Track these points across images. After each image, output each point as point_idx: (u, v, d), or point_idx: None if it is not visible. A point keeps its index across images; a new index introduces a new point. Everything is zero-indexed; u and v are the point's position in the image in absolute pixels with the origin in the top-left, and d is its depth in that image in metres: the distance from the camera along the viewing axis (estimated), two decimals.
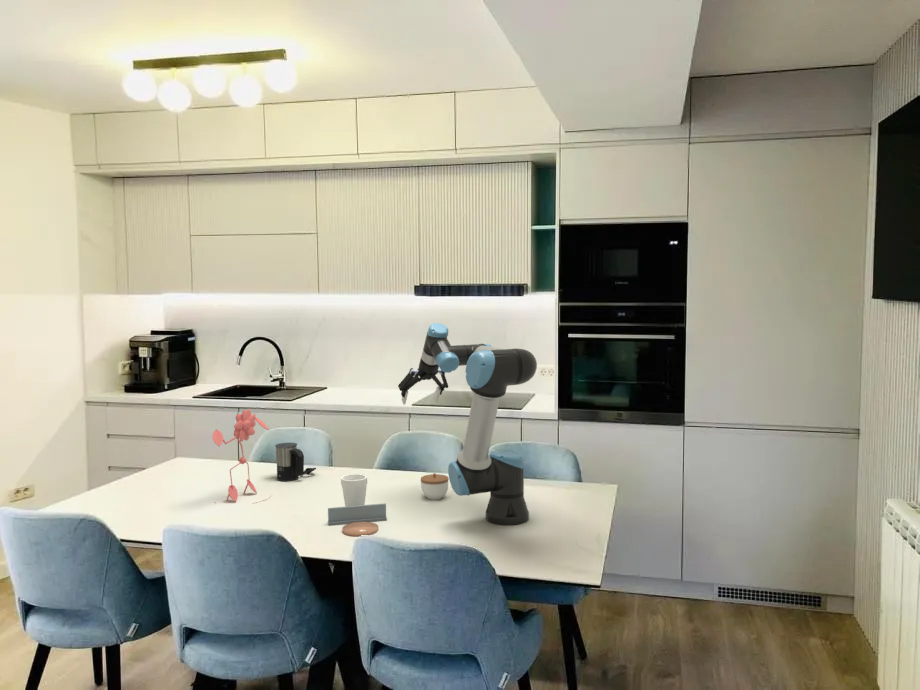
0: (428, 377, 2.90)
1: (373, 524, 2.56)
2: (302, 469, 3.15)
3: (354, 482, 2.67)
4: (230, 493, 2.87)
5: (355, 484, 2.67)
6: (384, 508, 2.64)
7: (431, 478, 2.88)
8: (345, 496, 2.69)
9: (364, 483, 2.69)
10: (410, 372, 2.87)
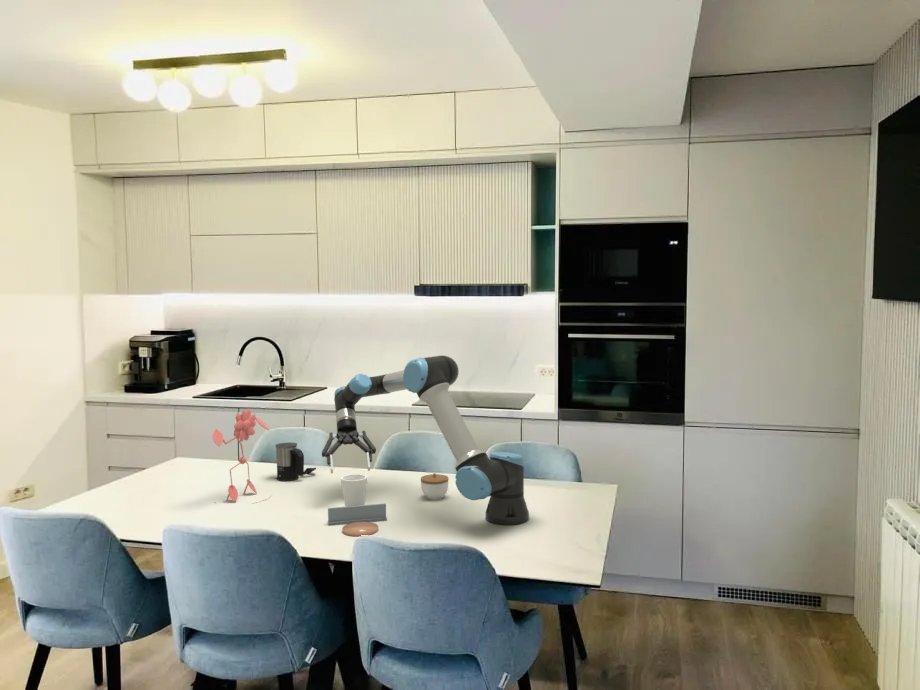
0: (349, 439, 2.87)
1: (373, 524, 2.56)
2: (302, 469, 3.16)
3: (354, 482, 2.67)
4: (230, 493, 2.87)
5: (355, 484, 2.67)
6: (384, 508, 2.64)
7: (431, 478, 2.88)
8: (345, 496, 2.69)
9: (364, 483, 2.69)
10: (329, 437, 2.88)
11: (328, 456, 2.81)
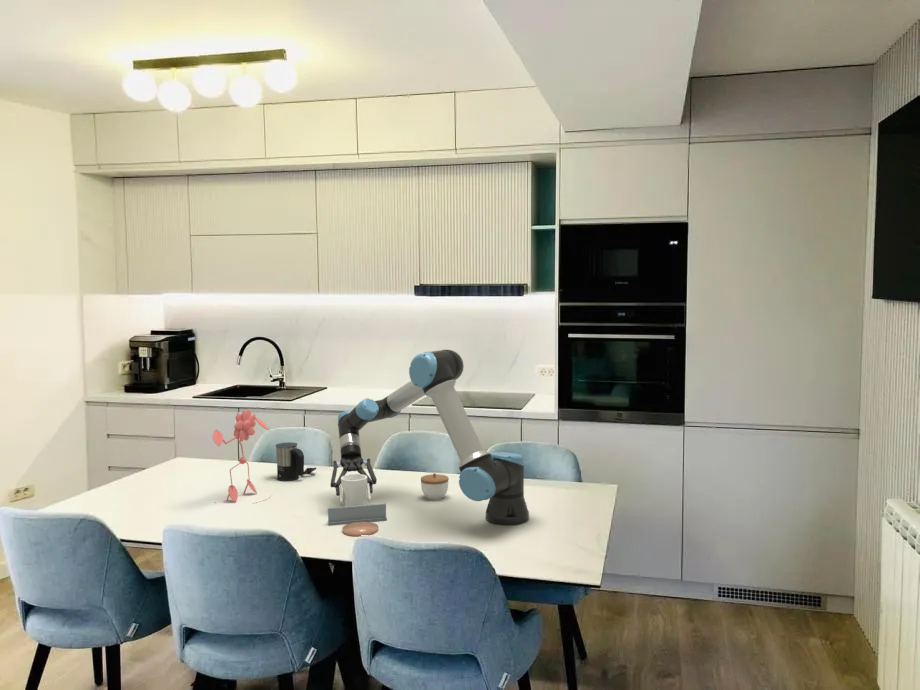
0: (353, 465, 2.77)
1: (373, 524, 2.56)
2: (302, 469, 3.16)
3: (354, 482, 2.67)
4: (230, 493, 2.87)
5: (355, 484, 2.67)
6: (384, 508, 2.64)
7: (431, 478, 2.88)
8: (345, 496, 2.69)
9: (364, 483, 2.69)
10: (333, 465, 2.77)
11: (337, 487, 2.71)
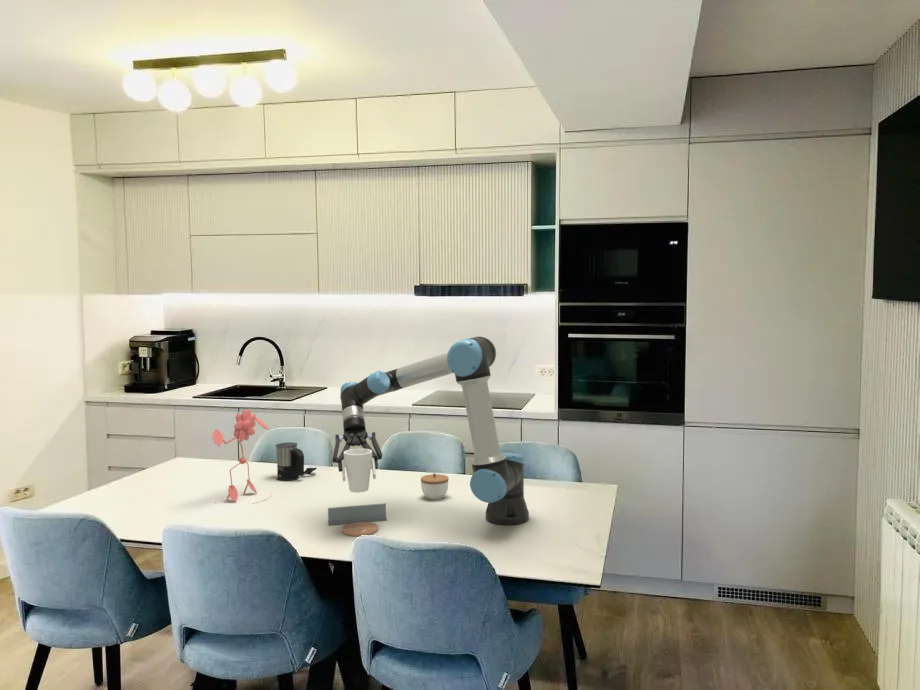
0: (357, 439, 2.57)
1: (373, 524, 2.56)
2: (302, 469, 3.16)
3: (358, 456, 2.47)
4: (230, 493, 2.87)
5: (359, 458, 2.47)
6: (384, 508, 2.64)
7: (431, 478, 2.88)
8: (348, 472, 2.49)
9: (369, 458, 2.49)
10: (335, 439, 2.57)
11: (339, 462, 2.51)
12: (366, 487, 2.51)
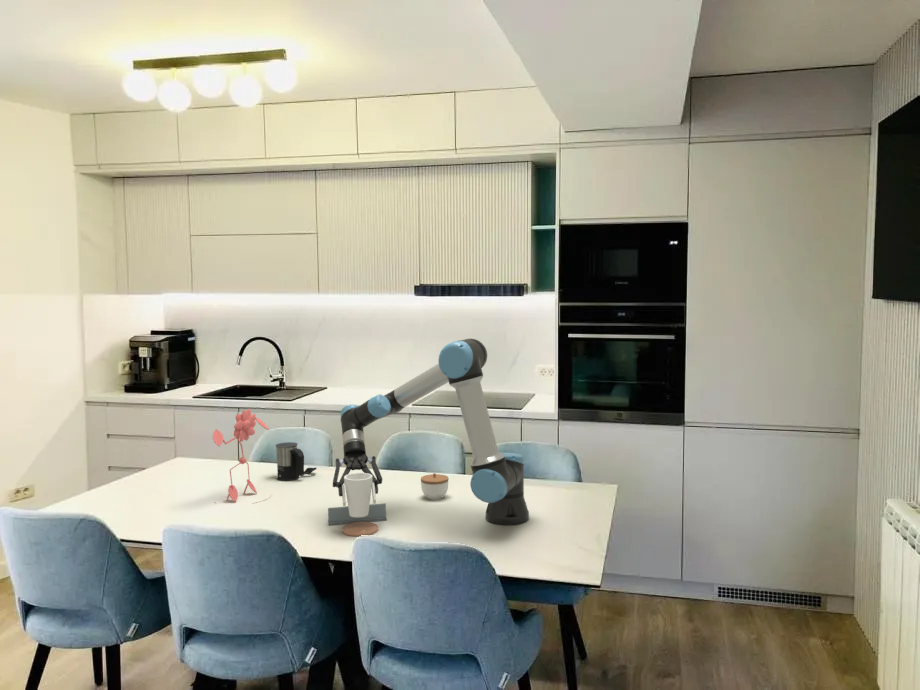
0: (357, 464, 2.57)
1: (373, 524, 2.56)
2: (302, 469, 3.16)
3: (358, 481, 2.47)
4: (230, 493, 2.87)
5: (359, 483, 2.47)
6: (384, 508, 2.64)
7: (431, 478, 2.88)
8: (348, 496, 2.49)
9: (369, 483, 2.49)
10: (335, 463, 2.58)
11: (340, 486, 2.51)
12: (366, 512, 2.51)
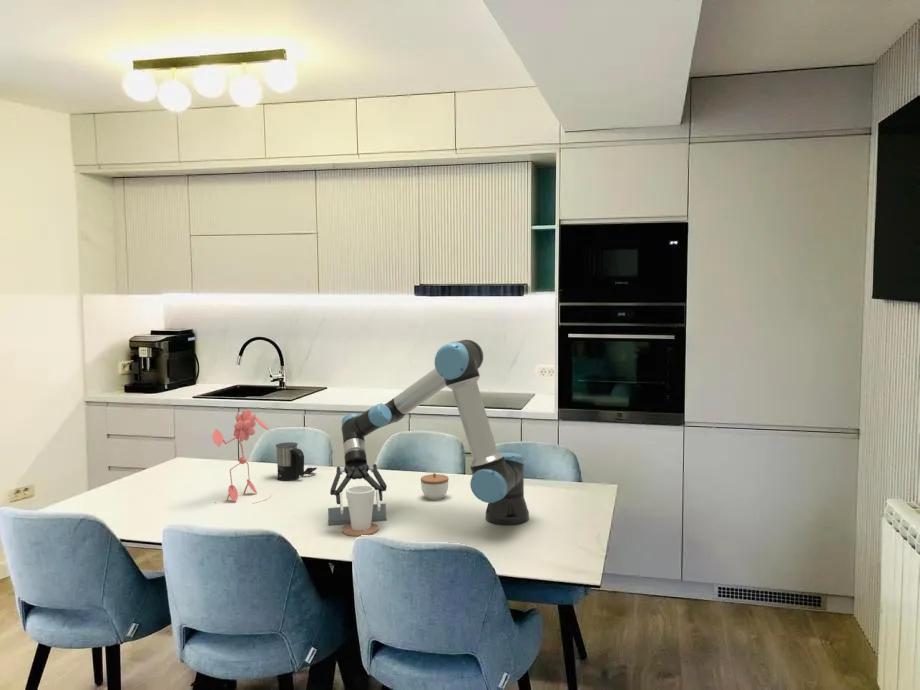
0: (358, 473, 2.58)
1: (373, 524, 2.56)
2: (302, 469, 3.16)
3: (361, 494, 2.47)
4: (230, 493, 2.87)
5: (362, 496, 2.48)
6: (384, 508, 2.64)
7: (431, 478, 2.88)
8: (351, 510, 2.50)
9: (371, 495, 2.50)
10: (336, 471, 2.58)
11: (337, 494, 2.51)
12: (368, 525, 2.51)
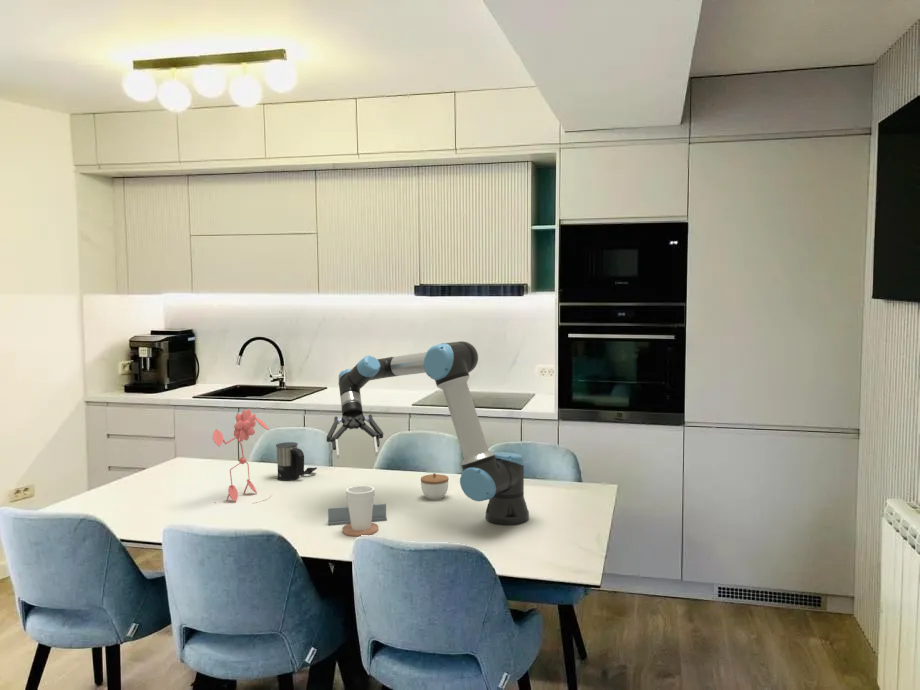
0: (355, 423, 2.73)
1: (373, 524, 2.56)
2: (302, 469, 3.16)
3: (361, 495, 2.47)
4: (230, 493, 2.87)
5: (362, 496, 2.48)
6: (384, 508, 2.64)
7: (431, 478, 2.88)
8: (351, 510, 2.50)
9: (371, 496, 2.50)
10: (334, 421, 2.74)
11: (333, 441, 2.67)
12: (368, 525, 2.51)
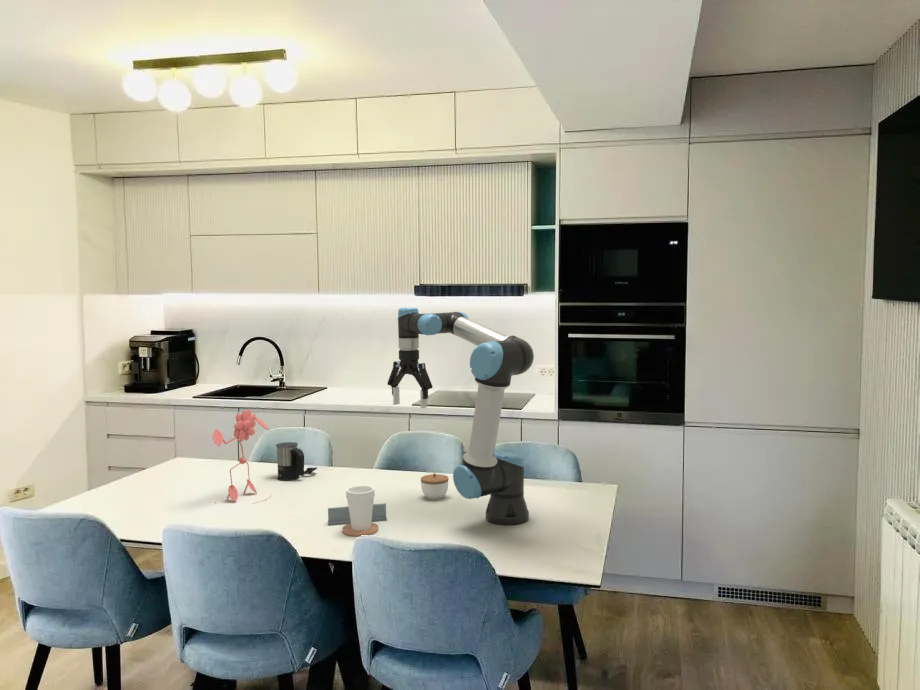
0: (408, 371, 2.79)
1: (373, 524, 2.56)
2: (302, 469, 3.16)
3: (361, 495, 2.47)
4: (230, 493, 2.87)
5: (362, 496, 2.47)
6: (384, 508, 2.64)
7: (431, 478, 2.88)
8: (351, 510, 2.50)
9: (371, 496, 2.50)
10: None
11: (392, 388, 2.85)
12: (368, 525, 2.51)
